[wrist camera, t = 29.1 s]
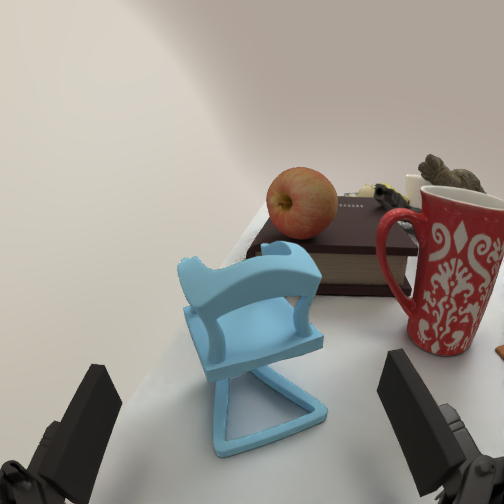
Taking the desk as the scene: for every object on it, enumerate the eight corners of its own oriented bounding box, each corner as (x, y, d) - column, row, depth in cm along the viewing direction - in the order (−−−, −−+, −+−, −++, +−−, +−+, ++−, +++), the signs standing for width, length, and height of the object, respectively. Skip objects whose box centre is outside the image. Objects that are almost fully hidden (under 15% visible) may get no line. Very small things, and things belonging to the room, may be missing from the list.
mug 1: (398, 210, 68) (400, 173, 65) (426, 210, 68) (429, 175, 64) (420, 223, 57) (423, 181, 53) (451, 223, 56) (454, 183, 53)
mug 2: (464, 309, 26) (487, 190, 22) (490, 361, 18) (534, 213, 14) (362, 306, 30) (372, 179, 25) (364, 362, 22) (387, 197, 17)
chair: (277, 353, 24) (274, 214, 20) (328, 419, 17) (352, 253, 13) (189, 377, 22) (158, 232, 18) (218, 459, 15) (175, 293, 10)
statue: (473, 246, 56) (426, 219, 41) (457, 215, 61) (401, 177, 46) (506, 220, 48) (475, 177, 33) (487, 189, 53) (443, 137, 38)
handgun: (440, 213, 36) (370, 198, 44) (448, 235, 50) (397, 222, 58) (444, 194, 36) (374, 181, 44) (451, 222, 50) (400, 210, 58)
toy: (350, 180, 72) (406, 172, 63) (356, 204, 74) (411, 198, 66) (339, 200, 62) (406, 192, 54) (347, 228, 65) (410, 222, 56)
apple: (357, 229, 31) (316, 229, 26) (302, 245, 37) (256, 248, 32) (340, 162, 32) (297, 147, 27) (289, 185, 38) (243, 177, 32)
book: (279, 224, 60) (278, 195, 58) (374, 226, 56) (375, 197, 54) (246, 290, 35) (243, 242, 33) (410, 295, 31) (418, 248, 28)
